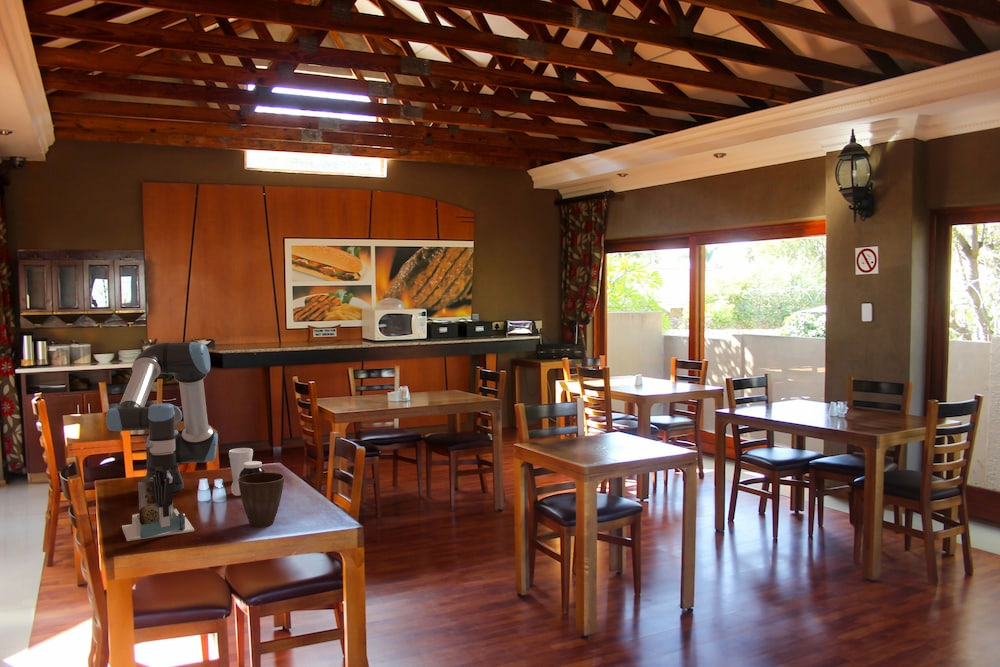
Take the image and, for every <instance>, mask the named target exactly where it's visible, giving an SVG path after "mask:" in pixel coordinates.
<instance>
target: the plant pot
mask: <svg viewBox="0 0 1000 667" xmlns="http://www.w3.org/2000/svg"><path fill="white" fill-rule="evenodd" d="M238 482H239V488H240V494H241V496H240V498H241V501H242V502H241V503H242V505H243V509H244V512H245V514H246V518H247V520H248V522H249V525H250V526H251V527H254V528H265V527H269V526H272V525H274V521H275V519H276V516H277V513H278V510H279V508H280V504H281V499H282V495H283V489H284V482H285V475H284V474H282V473H278V472H266V473H254V474H248V475H244V476H242V477H240V478H239V479H238Z"/></svg>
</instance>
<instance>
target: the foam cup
mask: <svg viewBox="0 0 1000 667" xmlns="http://www.w3.org/2000/svg"><path fill="white" fill-rule="evenodd" d="M253 456H254V450H253V448H249V447H239V448H232V449H230V450H228V457H229V463H230V468H231V470H230V471H231V476H232V482H233V481H234V480H235V479H237V478H239V475H240V472H241V471H242V470H243V468H244V463H245V462H251V461H253Z"/></svg>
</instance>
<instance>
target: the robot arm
mask: <svg viewBox="0 0 1000 667" xmlns="http://www.w3.org/2000/svg"><path fill="white" fill-rule="evenodd" d="M133 361H134V362H133V364H132V365H131V370H132V374H131V376H130V379H129V380H128V383H127V386H126V388H125V390H124V393H123V395H122V398H121V400H120V402H119V406H118V407H111V408H108V410H107V411H106V415H105V416H106V417H105V423H106V428H107V429H108V430H109V431H111V432H113V431H114V432H116V431H117V432H126V431H127V432H128V431H148V436H147V437H146V441H145V442H146V444H145V449H146V450H145V451H146V452H145V453H146V454H145V455H146V459H145V460H146V474H145V477H153V482H154V490H155V498H156V503H158V505H159V519H160V527H166V526H170V510H169V506H170V505H172V503H173V504H174V493H176V492H179V491H182V490H184V485H185V484H184V480H183V478H182V475H181V473H180V472H181V471H180V469H179V467H180V466H179V465H180V464H188V463H189V464H190V463H192V464H193V463H203V464H204V463H209V462H213V461H214V460H216V456H217V449H218V441H219V434H218V432H216V431H214V430H213V427H212V426H211V425H209V421H208V412H207V404H206V402H207V400H206V393H205V385H204V379H205V378H206V377H207V375H208V373H209V372H210V370H211V356H210V352H209V348H208V346H207V345H206V344H205V343H204V342H199V341H198V342H195V341H190V342H189V341H188V342H159V343H155V344H153V345H151V346H148V347H147V348H145V349H144V350H143V351H142V352H140V353H139V354H138V356H137V357H136V358H135V359H134V360H133ZM163 374H166V375H168V374H169V375H171V374H173V378H174V380H175V381H176V382H178V386H179V391H180V399H181V407H182V408H181V409H182V410H181V409H180V408H179V406H176V405H174V404H172V403H170V402H169V403H168V402H167V403H165V402H162V403H154V404H150V405H149V406H146V404H147V400H148V398H149V395H150V392H151V390H152V387H153V385H154V382H155V380H156V379H157V378H158V377H159V376H160V375H163ZM182 419H183V424H184V429H183V430H182V432H181V433H179V430H177V429H175V428H177V427H178V426H179V425H180V423H181V421H182ZM145 477H144V478H145Z"/></svg>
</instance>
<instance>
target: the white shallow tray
mask: <svg viewBox="0 0 1000 667" xmlns="http://www.w3.org/2000/svg"><path fill="white" fill-rule="evenodd" d="M178 514H180V512H179V511H178V509H177V508H173V517H175V516H178ZM140 525H141V524H140V518H139V513H133V514H131V524H126V525H125V524H124V525H121V530H122V532H123V535H124V536H125V539H126V542H131V541H137V540H138V541H139V540H145V539H146V540H147V539H151V538H159V537H165V536H171V535H172V536H173V535H178V534H180V535H181V534H184V533H185V534H186V533H191V532H195V528H194V527H193V525H192V524H191V522H190V521H189V519H188V518H187V517H186V516H185V529H184V530H178V529H177V530H173V531H169V532H165V533H161V534H158V535H154V536H150V537H146V538H141V537H140Z"/></svg>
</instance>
